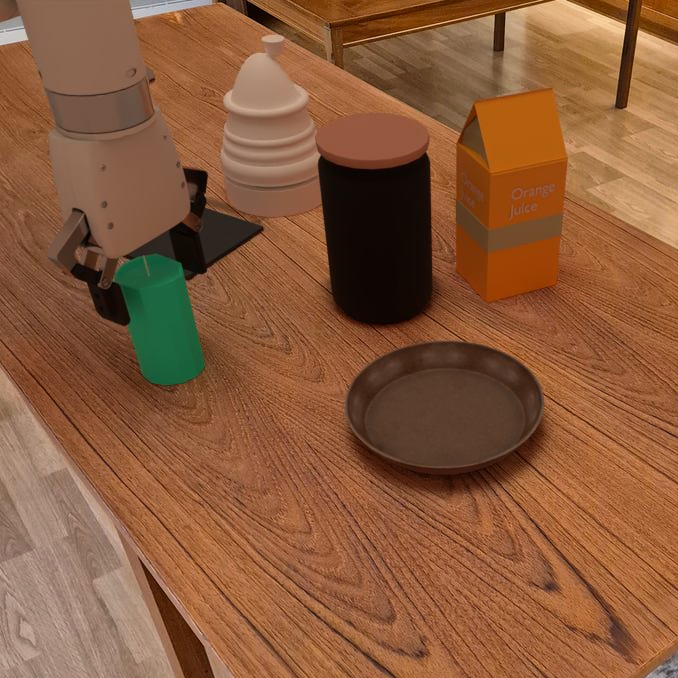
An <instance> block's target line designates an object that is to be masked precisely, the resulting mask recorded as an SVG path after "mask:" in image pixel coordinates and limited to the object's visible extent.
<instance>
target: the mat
mask: <svg viewBox="0 0 678 678" xmlns="http://www.w3.org/2000/svg"><path fill="white" fill-rule="evenodd" d="M201 220H202V221H203V229H202V230H201V231H200V232H199V236H200V240H201V245H202V249H203V254H204V258H205V262H206V267H207V268H209V267H210V266H212V265H214V264H215V263H217V262H218V261H220V260H221V259H223V258H224V257H226V256H227V255H228V254H230V253H232V252H233V251H234V250H236V249H238V248H239V247H241V246H242V245H243V244H246V243H247V242H248V241H250V240H252V239H253V238H255V237H256V236H258V235H259V234H261V233H263V231H265V226H263V225H261V224H257V223H254V222H252V221H248V220H246V219H242V218H239V217H236V216H232V215H229V214H227V213H223V212H220V211H217V210H214V209H210V208H208V207H205V209H204V211H203V214H202V217H201ZM152 254H158V255H161V256H164V257H167V258H170V259H173V260H175V261H176V259H175V255H174V251H173V247H172V243H171V239H170V235H169V230H167V231H166V232H164V233H162V234H161V235H159V236H157V237H156V238H154V239H152V240H151V241H149V242H147V243H146V244H144V245H142V246H141V247H139V248H137V249H136V250H134V251H132V252H130V253H129V254H127V255H125V256H123V257H122V258H126V259H129V260H132V259H135V258H137V257H141V256H143V255H144V256H146V255H152ZM183 273H184V277H185V280H187V281H190V280H192V278H194V277H195V276H198V274H197V273H194V272H191V271H188V270H186V269H183Z"/></svg>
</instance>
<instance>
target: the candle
mask: <svg viewBox="0 0 678 678" xmlns="http://www.w3.org/2000/svg"><path fill="white" fill-rule="evenodd" d="M113 282H115V283H118V284H119V285H120V287H121V290H122V293H123V296H124V300H125V303H126V306H127V309H128V312H129V316H130V319H131V321H130V323H129V324H128V325H126V327H127V329H128V333H129V335H130V338H131V341H132V342H131V343H132V345H133V349H134V352H135V356H136V358H137V362H138V365H139V368H140V372H141V375H142V376H143V378H145V379H146V380H147V381H148V382H150V383H151V384H155V385H161V386H173V385H180V384H184V383H187V382H189V381H190V380H192V379H194V378H196V377H198V376H199V375H200V374H201V372H202V371H203V370H204V369H205V367H206V364H205V356H204V352H203V347H202V343H201V340H200V335H199V330H198V327H197V324H196V319H195V315H194V310H193V307H192V302H191V298H190V294H189V293H190V292H189V289H188V285H187V282H186V279H185V277H184V273H183V268H182V264H181V263H180V262H178V261H175V260H173V259H170V258H167V257H164V256H161V255H158V254H152V255H146V256H144V255H143V256H141V257H137V258H135V259H132V260H131V259H129V260H128V261H125V262H123V263H122V264H121V265H120V267H119V268H118V269H116V271H115V274H114V278H113Z"/></svg>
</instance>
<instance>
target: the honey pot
mask: <svg viewBox="0 0 678 678" xmlns="http://www.w3.org/2000/svg"><path fill="white" fill-rule="evenodd" d="M261 43H262V47H263V49H264V50H265V52H255V53H252V54H251V55H250V56H248V57H247V58H246V59H245V61H244V62H243V63H242V64H241V67H240V69H239V70H238V73H237V75H236V78H235V81H234V84H233V87H232V89H230V90H229V91H227V92H226V94H224V96H223V99H222V105H223V107H224V109H225V110H226V111H227V115H226V116H227V117H226V122H225V123H224V125H223V136H222V147H221V149H220V152H219V153H220V155H219V156H220V157H219V163H220V165H221V170H222V178H223V184H224V189H225V195H226V199H227V201H228V203H229V204H230V206H231V207H233V208H234V209H235V210H237V211H239V212H241V213H244V214H247V215H252V216H256V217H264V218H266V217H267V218H278V217H279V218H280V217H290V216H294V215H300V214H303V213H306V212H309V211H312V210H314V209H316V208H317V207H319V206H322V200H321V191H320V182H319V173H318V160H319V158H320V156H321V154H319V153H318V150H317V146H316V141H315V135H316V133H317V131H318V129H316V126H315V120H314V119H313V118H312V116H311V115H310V113H309V111H308V109H307V106H308V104H309V103H310V95H309V93H308V91H307V90H306V88H303V87H302V86H300V85H298V84H295V83H293V81H292V80H291V78H290V77H289V75H288V74H287V72H286V71H285V69H283V67H282V66H281V65H280V64H279V63H278V61H276V60H275V58H278V57H280V56H281V55H282V53H283V52H284V49H285V45H286V39H285V36H284V35H280V34H268V35H264V36H263V37H261Z"/></svg>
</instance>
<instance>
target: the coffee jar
mask: <svg viewBox="0 0 678 678" xmlns="http://www.w3.org/2000/svg"><path fill="white" fill-rule="evenodd" d="M315 141H316V146H317V150H318V153H319V154H321V156H320V158H319V160H318V173H319V182H320V191H321V200H322V204H321V207H322V218H323V227H324V235H325V243H326V253H327V262H328V270H329V279H330V289H331V296H332V300H333V302H334V303H335V305H336V306H337V307H338V308H339V309H340V311H341V312H342V313H343V314H344V315H345V316H346V317H348V318H350V319H351V320H353V321H355V322H357V323H360V324H365V325H369V326H384V327H385V326H391V325H398V324H402V323H405V322H407V321H410V320H412V319H414V318H415V317H418V316H419V314H421V313H422V312H423V310H424V309H425V308H426V306H427V305H428V303H430V301H431V299H432V294H433V291H434V285H433V284H434V283H433V282H434V281H433V280H434V279H433V275H434V274H433V237H432V236H433V232H432V231H433V230H432V229H433V228H432V227H433V225H432V224H433V223H432V180H431V179H432V177H431V176H432V175H431V173H432V172H431V160H430V158H429V155H428V153H427V151H428V149H429V145H430V133H429V131H428V129H427V127H426V126H424V125H423V124H422V123H421V122H419V121H418V120H416V119H413V118H411V117H409V116H405V115H400V114H394V113H390V112H373V111H372V112H363V113H362V112H359V113H353V114H348V115H343V116H339V117H336V118H334V119H332V120H330V121H327V122H325V123H324V124H323V125H322V126H320V127H319V128H318V129H317V133H316V135H315Z"/></svg>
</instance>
